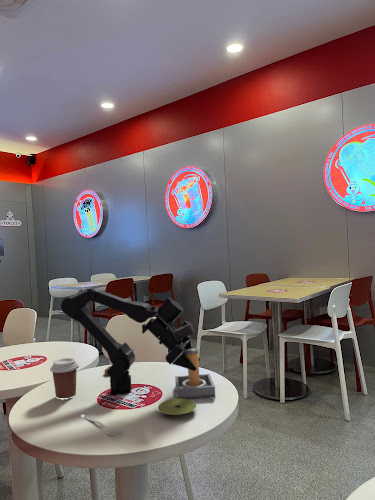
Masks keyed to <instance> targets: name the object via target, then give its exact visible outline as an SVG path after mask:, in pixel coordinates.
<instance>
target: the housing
mask: <svg viewBox="0 0 375 500" xmlns="http://www.w3.org/2000/svg"><path fill="white" fill-rule="evenodd" d="M174 378H175V379H174V380H175V381H174V383H175V390H176V391H175V392H176V399H179V398H182V399H189V400H200V399H201V398H202V399H211V398H210V397H214V398H216V386H215V384H214V381H213V379H212V376H211V375H210V373H204V374H203V373H202V374H199V380H200V386H189V377H188V375H177V376H175V377H174Z"/></svg>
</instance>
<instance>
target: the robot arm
mask: <svg viewBox="0 0 375 500" xmlns="http://www.w3.org/2000/svg"><path fill="white" fill-rule="evenodd" d="M91 302H95V303H97V304H100V305H103V306H106V307H108V308H111V309H113V310H116V311H119V312H121V313H123V314H125V315H126V316H127V317H128V318H129V319H131V320H133V321H135V322H136V323H139V324H141V323H144V324H142V325H141V333H142V334H145V333H146V332H147V331H149V332H150V334H152V335H153V337H154V338H156V339H157V340H158V344H159V345H163V346H164V347H165V348H166V349H167V352H168V353H167V354H166V355H165V361H166V363H168V364H169V365H173V366H174V365H175V366H177V367H180V368H184V369H187V370H188V369H190V370H193V371H195V370H196V369H197V368H196V367H195V365H194V364H193V363H192V362H191V360H190V359H189V358H188V356H187V350H188V349H191V348H194V347H193V345H192V344H193V343H192V341H193V340H192V336H191V335H194V332H195V331H196V330H195V328H194V324H193V323H191V322H189V321H187V320H185V321H182V323H181V326H180V327H179V328H176V327H175V326H173V327H171V326H170V325H169V324H168V323H171V324H173V323H174V322H175V320H177V319H178V317H179V316H180V315H181V314H182V313H183V312H184V311H185V310H184V308H183V306H182V305H181V304H180V303H179V302H177V301H176V300H173V299H172V298H170V296H168V297H167V298H165V300H164V302H163V303H162V304H161V305H160V306H152V305H151V304H149V303H147V302H142V301H137V300H136V301H135V300H134V301H133V300H128V299H125V298H122V297H119V296H117V295H114V294H113V293H112V294H111V293H109V292H106V291H104V290H101V289H99V288H97V287H94V288H93V287H92V288H90V289H87V290H86V291H85V292H81V293H80V294H77V295H76V294H75V295H72V296H69V297H66V298H64V299H63V300H62V301H61V304H60V310H61V311H62V313H64V315H66V316H67V317H68V318H70V319H72V320H74V321H76V322H78V323H79V324H81V326H82V327H83V328H84V330H86V331H87V332H88V333H89V335H91V337H92V338H93V339H94V340H95V341H96V342H97V343H98V344H99V345H100V346H101V348H102V349H104V351H105V352H106V353H107V356H108V359H109V362H110V363H111V365H112V364H113V365H112V366H111V365H110V366H111V367H110V366H109V367H110V368H109V369H108V370H107V373H108V375H107V376H108V378H109V383H110V391H109V395H112V396H113V395H122V394H130V392H131V389H132V375H131V374H130V371H129V370H130V368H131V366H132V365H133V364H134V363H135V360H136V355H135V353H134V349H133V348H131V347H130V346H129V344H128V343H127V341H125V342H124V343H119V342H118V341H117V340H116V339H115V338H114V337H113V336H112V335H111V334H110V333H109V332H108V331H107V329H105V328H104V326H103V325H102V324H101V323H100V322H99V321H98V320H97V319H96V317H94V316H93V315H92V314H91V312H90V309H89V307H88V305H87V304H89V303H91ZM156 315H157V316H156ZM154 317H155V318H154ZM148 320H149V321H148ZM146 321H147V322H146ZM145 322H146V323H145ZM200 360H201V358H200V357H199V356H198V361H199V362H200ZM128 369H129V370H128Z"/></svg>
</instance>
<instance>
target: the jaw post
mask: <svg viewBox="0 0 375 500" xmlns="http://www.w3.org/2000/svg"><path fill="white" fill-rule="evenodd" d="M187 356H188V358H189V359H190V360H191V362H192V363H193V364H194V365H195V367H196V368H197V369H196V370H195V371H193V370H190V369H187V372H188V373H187V374H188V375H187V376H188V377H189V386H200V380H199V375H200V367H199V365H200V363H199V362H200V361H198V357H199V349H198V348H195V347H193V348H191V349H188V350H187Z"/></svg>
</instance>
